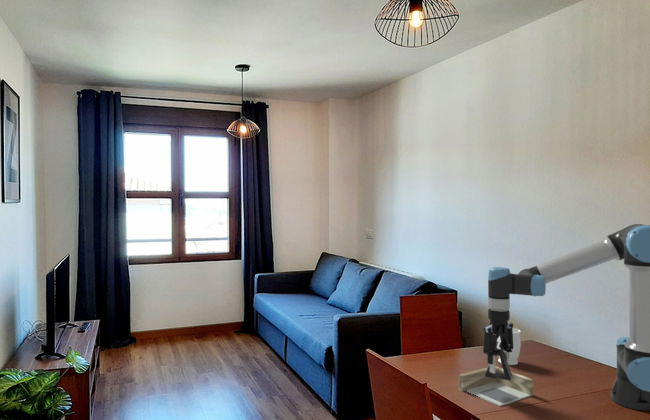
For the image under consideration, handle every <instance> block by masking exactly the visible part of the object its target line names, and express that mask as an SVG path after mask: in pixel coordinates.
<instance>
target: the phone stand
mask: <svg viewBox="0 0 650 420" xmlns="http://www.w3.org/2000/svg"><path fill="white" fill-rule="evenodd" d="M497 345H498V342H497V343H496V348H495V352H494V355H495V356H496V357H499V356H500V359H501V363H502V367H503V371H504V373H501V372H495V374H494V373H491V372H489V371H490V364H489V367H488V366H487V367H488V368H487V371H486V374H485V377H491V378H498V379H504V380H511V376H512V373H511V372H512V370H511V368H510V365H508V363H507V360H506V357H505V354H504V351H503V347H504V345H503V343H502V342H500V345H499V347H500V348H501V349H498V348H497ZM498 355H499V356H498ZM501 363H500V364H501Z"/></svg>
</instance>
